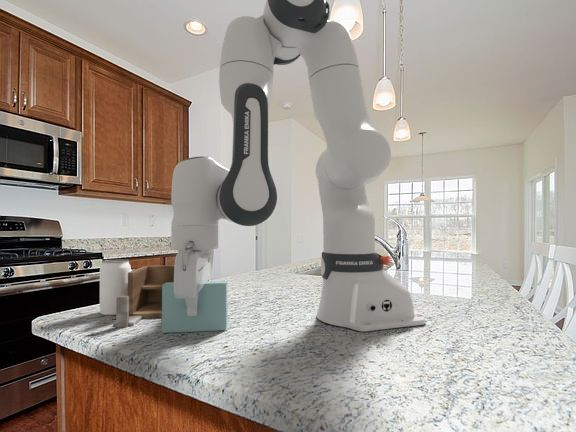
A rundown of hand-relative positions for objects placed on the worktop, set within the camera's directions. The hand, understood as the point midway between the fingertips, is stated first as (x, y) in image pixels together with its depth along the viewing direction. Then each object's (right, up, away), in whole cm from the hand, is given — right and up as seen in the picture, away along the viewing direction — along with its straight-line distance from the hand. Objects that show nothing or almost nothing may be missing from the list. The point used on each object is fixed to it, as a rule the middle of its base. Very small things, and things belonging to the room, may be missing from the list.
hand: (195, 311), depth 63 cm
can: (-22, -4, +13) cm, 26 cm away
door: (0, -4, 0) cm, 4 cm away
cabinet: (-10, -4, +11) cm, 15 cm away
